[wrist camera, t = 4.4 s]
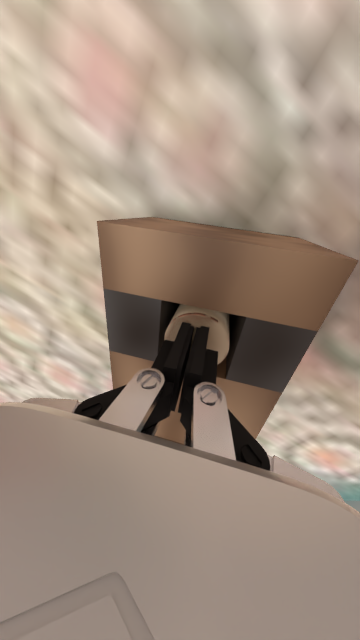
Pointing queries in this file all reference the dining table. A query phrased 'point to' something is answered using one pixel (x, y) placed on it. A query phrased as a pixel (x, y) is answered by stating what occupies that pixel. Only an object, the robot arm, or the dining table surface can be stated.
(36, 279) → the dining table surface
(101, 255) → the banded wooden block
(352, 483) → the dining table surface
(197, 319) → the beech peg
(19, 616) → the robot arm
